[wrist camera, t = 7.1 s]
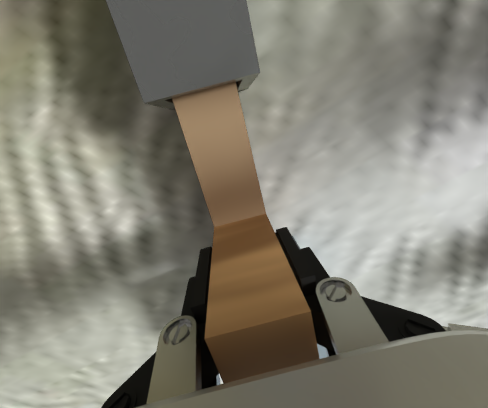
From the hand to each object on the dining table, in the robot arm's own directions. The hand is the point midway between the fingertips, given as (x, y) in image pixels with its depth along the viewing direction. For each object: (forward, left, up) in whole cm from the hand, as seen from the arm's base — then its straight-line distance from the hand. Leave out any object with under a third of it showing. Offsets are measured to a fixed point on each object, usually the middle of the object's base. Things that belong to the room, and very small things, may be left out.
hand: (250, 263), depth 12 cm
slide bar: (-3, 0, -5) cm, 6 cm away
